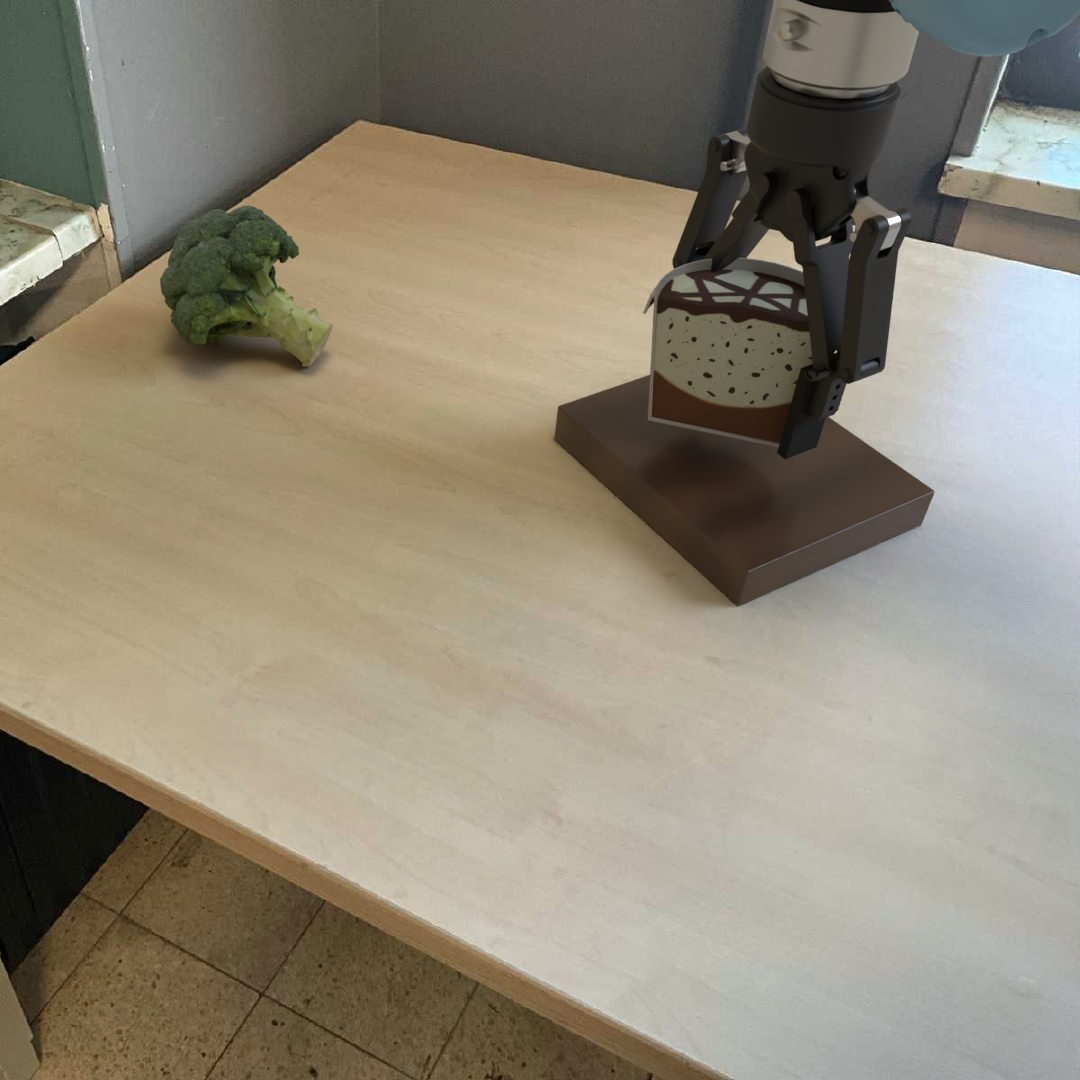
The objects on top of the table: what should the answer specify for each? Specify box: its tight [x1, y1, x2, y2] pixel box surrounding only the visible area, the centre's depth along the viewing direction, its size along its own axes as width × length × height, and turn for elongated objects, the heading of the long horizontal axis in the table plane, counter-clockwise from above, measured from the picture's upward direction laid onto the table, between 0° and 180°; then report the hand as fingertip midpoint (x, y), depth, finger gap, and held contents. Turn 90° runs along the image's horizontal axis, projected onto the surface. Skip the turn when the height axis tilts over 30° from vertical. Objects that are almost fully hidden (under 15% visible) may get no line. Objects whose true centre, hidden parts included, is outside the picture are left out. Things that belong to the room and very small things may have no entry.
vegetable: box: [159, 205, 334, 368], centre depth 93 cm, size 12×13×15 cm
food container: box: [642, 257, 813, 447], centre depth 76 cm, size 12×6×10 cm, turn 68°
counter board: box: [553, 374, 936, 607], centre depth 81 cm, size 20×16×3 cm
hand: (745, 411), depth 78 cm, fingers closed on food container, 9 cm apart
